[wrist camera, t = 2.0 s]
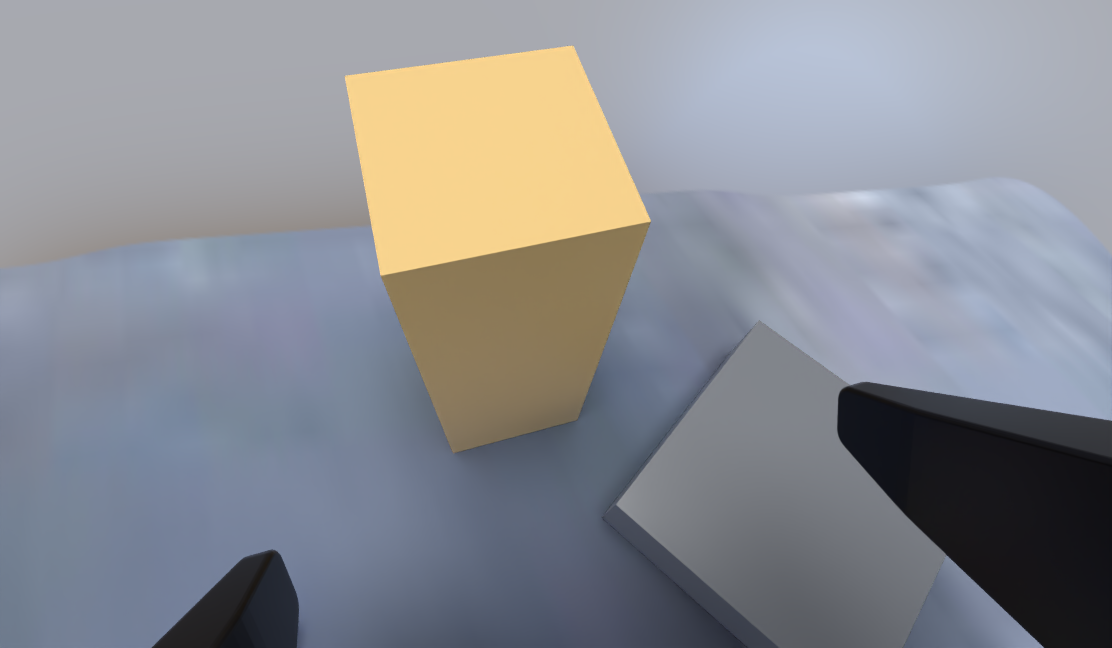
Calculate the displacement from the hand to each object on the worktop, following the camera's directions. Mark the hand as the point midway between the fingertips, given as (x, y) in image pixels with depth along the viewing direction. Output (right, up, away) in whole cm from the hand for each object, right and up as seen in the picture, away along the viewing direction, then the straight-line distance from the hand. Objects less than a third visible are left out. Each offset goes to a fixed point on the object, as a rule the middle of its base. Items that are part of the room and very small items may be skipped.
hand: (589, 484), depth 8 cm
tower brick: (-3, 0, +14) cm, 14 cm away
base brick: (+8, -5, +13) cm, 16 cm away
